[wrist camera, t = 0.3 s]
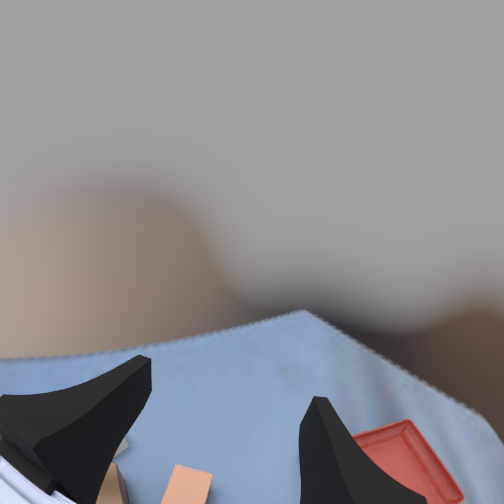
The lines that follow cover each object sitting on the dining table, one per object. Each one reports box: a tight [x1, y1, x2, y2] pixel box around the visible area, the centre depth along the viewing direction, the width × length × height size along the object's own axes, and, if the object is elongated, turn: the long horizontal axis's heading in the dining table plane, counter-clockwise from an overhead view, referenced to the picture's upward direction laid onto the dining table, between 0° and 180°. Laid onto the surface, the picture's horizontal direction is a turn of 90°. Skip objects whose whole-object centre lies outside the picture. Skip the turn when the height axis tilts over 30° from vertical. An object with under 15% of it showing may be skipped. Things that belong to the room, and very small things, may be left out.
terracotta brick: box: [161, 464, 213, 504], centre depth 16 cm, size 6×4×5 cm, turn 173°
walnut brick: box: [96, 462, 129, 504], centre depth 14 cm, size 6×4×5 cm, turn 23°
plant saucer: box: [351, 418, 465, 504], centre depth 19 cm, size 18×18×3 cm
